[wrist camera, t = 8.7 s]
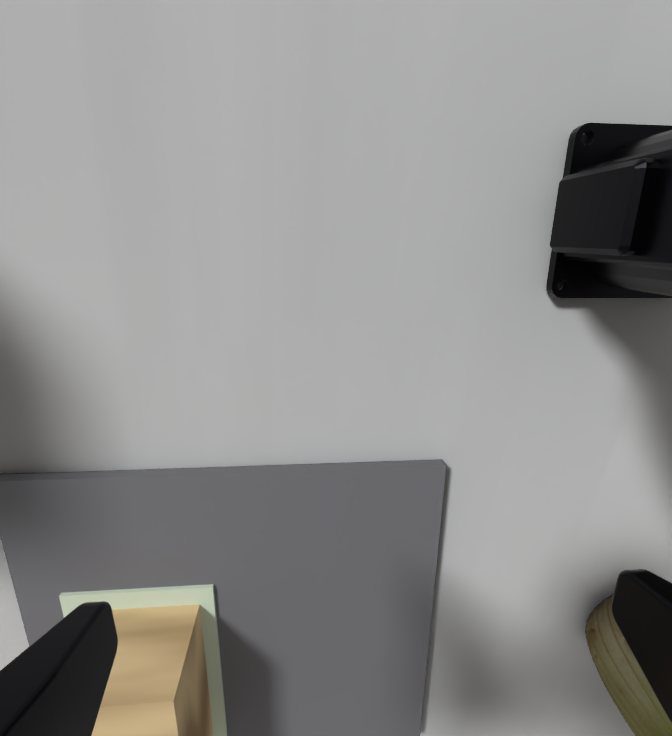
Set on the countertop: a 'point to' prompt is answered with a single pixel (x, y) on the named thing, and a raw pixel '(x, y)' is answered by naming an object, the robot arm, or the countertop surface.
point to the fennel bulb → (624, 675)
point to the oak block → (157, 675)
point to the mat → (252, 579)
